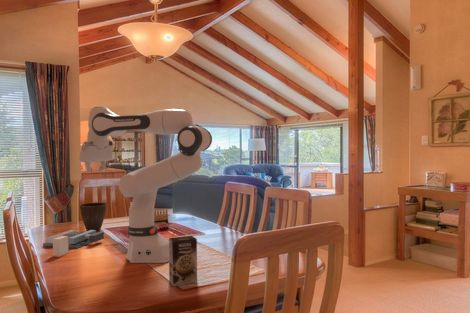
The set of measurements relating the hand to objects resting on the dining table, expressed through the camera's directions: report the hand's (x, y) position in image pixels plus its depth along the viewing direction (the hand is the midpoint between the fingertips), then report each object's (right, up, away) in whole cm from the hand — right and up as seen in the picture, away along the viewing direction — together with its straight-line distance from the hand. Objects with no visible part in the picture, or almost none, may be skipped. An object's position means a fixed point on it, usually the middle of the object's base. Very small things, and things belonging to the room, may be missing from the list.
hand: (95, 171), depth 168 cm
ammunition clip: (+19, -38, +53) cm, 68 cm away
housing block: (-17, -39, +1) cm, 42 cm away
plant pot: (-20, -38, +49) cm, 66 cm away
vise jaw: (-11, -37, +20) cm, 43 cm away
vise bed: (-21, -39, +23) cm, 49 cm away
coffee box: (+46, -39, -36) cm, 71 cm away
